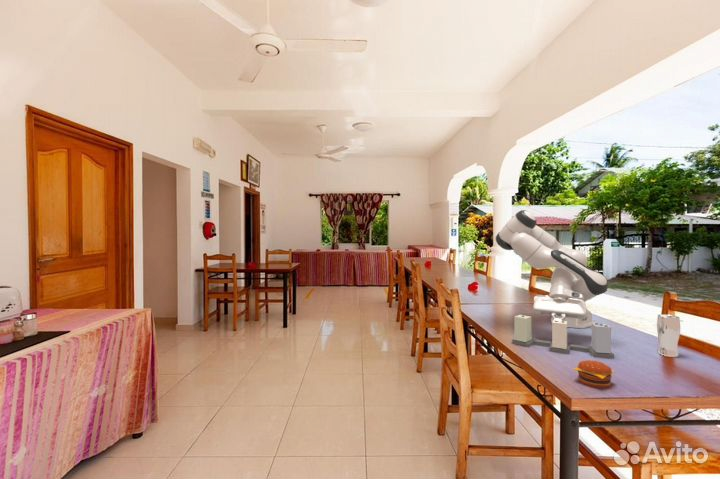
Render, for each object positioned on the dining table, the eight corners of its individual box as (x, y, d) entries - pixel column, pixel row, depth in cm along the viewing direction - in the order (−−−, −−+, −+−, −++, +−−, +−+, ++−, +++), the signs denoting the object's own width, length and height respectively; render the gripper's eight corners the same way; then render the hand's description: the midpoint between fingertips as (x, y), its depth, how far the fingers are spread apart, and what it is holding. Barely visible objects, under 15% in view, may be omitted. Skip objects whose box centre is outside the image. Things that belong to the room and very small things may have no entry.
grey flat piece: (515, 338, 165) (515, 334, 165) (612, 351, 145) (612, 348, 145) (510, 345, 155) (510, 341, 155) (614, 360, 135) (614, 356, 135)
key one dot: (519, 337, 160) (519, 314, 160) (531, 339, 156) (531, 316, 156) (514, 339, 157) (514, 315, 156) (525, 342, 153) (525, 317, 152)
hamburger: (605, 391, 110) (605, 370, 110) (571, 381, 118) (571, 360, 118) (617, 383, 116) (617, 363, 116) (585, 374, 124) (585, 354, 123)
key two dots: (553, 343, 150) (553, 319, 150) (567, 345, 148) (567, 320, 147) (552, 347, 146) (552, 321, 146) (566, 349, 143) (566, 323, 143)
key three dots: (591, 348, 144) (591, 322, 144) (605, 349, 143) (606, 323, 143) (596, 352, 139) (596, 325, 139) (611, 353, 138) (611, 326, 138)
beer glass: (684, 358, 137) (685, 318, 137) (663, 357, 139) (663, 318, 138) (672, 352, 144) (673, 314, 144) (652, 351, 145) (652, 313, 145)
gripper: (533, 290, 164) (529, 315, 156) (587, 295, 153) (585, 323, 145) (535, 298, 168) (531, 324, 160) (587, 303, 157) (586, 331, 149)
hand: (557, 323), depth 152 cm, fingers closed
